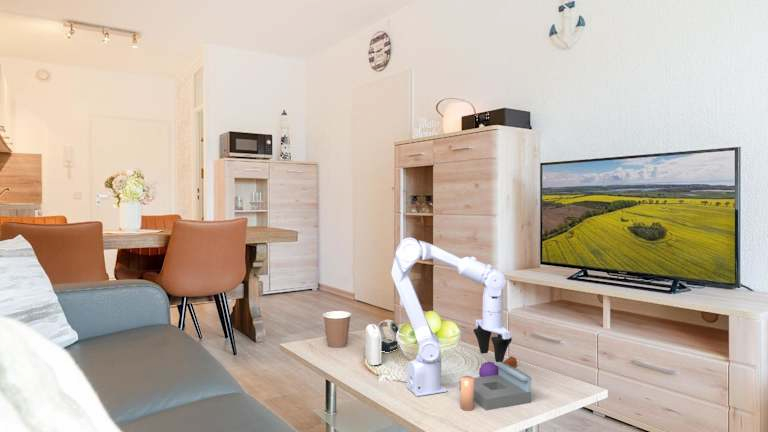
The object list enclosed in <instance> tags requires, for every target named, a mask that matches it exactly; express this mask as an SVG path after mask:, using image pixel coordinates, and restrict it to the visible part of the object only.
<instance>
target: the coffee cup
mask: <svg viewBox="0 0 768 432" xmlns="http://www.w3.org/2000/svg"><path fill="white" fill-rule="evenodd" d="M322 316H323V320H324V322H323V323H324V330H325V338H326V344H327V348H329V349H331V350H342V349H345V348H346V347H347V345H348V340H349V339H348V338H349V330H350V324H351V323H350V322H351V317H352V313H351V312H348V311H343V310H333V311H328V312H324V313H323V314H322Z"/></svg>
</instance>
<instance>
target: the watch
mask: <svg viewBox="0 0 768 432" xmlns="http://www.w3.org/2000/svg"><path fill="white" fill-rule="evenodd" d="M384 323H386V325H387V331H388V332H389V334H391V336H392V339H389V338H388V339H387V336H386V334H385V331H384V328H383V325H384ZM377 327H378V328H379V330H380V332H381V351H385V352H390V351H393V350H396V349H397V350H398V340H396V333H397V331H398V330H399V329H400V326H399V325H398V323H397V322H396V321H395V320H392V319H385V320H382V321H380V322H379V324H378V325H377ZM397 350H396V351H397ZM393 352H394V351H393Z"/></svg>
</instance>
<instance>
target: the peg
mask: <svg viewBox="0 0 768 432" xmlns="http://www.w3.org/2000/svg"><path fill="white" fill-rule="evenodd" d="M474 378H475V377H473V376H471V375H462V376H461V377H460V380H461V391H460V402H459V405H460V407H459V408H460V409H461V410H462V411H464V412H470V411H473V410H474V409H475V405H474V404H475V402H474Z"/></svg>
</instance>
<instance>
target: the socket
mask: <svg viewBox="0 0 768 432" xmlns="http://www.w3.org/2000/svg"><path fill="white" fill-rule="evenodd" d="M493 363H494V364H495V365H497V366H498V367H499V368H498V375H492V376H485V377H473V378H474V403H476V404H477V405H478V406H479V407H481V408H483V409H484V410H485V411H491V410H496V409H502V408H507V407H512V406H513V407H514V406H519V405H524V404H530V403H531V401H532V399H531V398H532V376H530V375H528V374H526V373H525V372H522V371H520V370H519V369H517V368H515V366H514V367H512V366H510V365H508V364H506V363H504V360H503V361H502V362H496V361H494V362H493ZM459 391H460V392H461V379H459Z"/></svg>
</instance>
